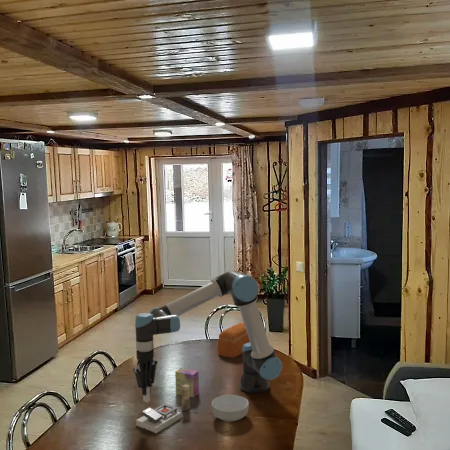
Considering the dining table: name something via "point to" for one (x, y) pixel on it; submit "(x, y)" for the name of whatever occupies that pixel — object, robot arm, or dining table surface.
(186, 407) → the dowel
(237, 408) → the cereal bowl
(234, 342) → the bread
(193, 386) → the box
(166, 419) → the box
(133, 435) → the dining table surface
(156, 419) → the rocker
